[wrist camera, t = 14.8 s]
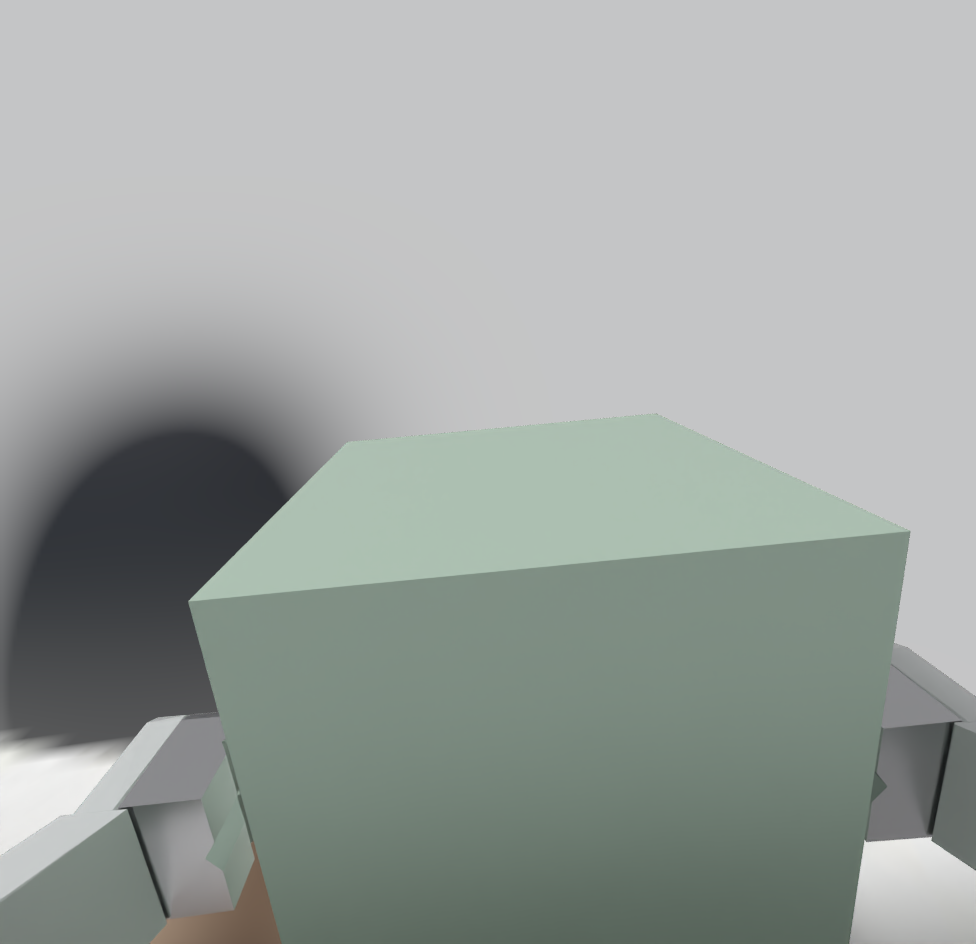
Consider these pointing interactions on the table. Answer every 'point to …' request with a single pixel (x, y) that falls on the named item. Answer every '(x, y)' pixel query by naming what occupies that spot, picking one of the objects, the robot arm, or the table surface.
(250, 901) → the board
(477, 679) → the sage green tall pillar
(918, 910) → the table surface
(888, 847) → the table surface
